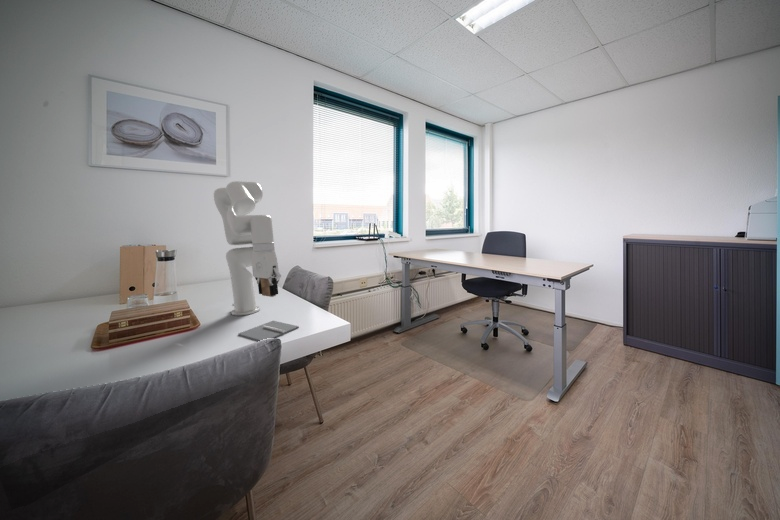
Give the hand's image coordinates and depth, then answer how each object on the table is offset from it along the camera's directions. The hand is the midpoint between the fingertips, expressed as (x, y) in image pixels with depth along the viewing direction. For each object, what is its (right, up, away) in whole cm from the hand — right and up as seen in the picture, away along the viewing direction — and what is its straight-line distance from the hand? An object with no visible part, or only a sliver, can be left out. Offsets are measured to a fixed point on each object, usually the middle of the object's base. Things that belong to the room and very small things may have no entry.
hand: (268, 293), depth 114 cm
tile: (0, -1, 0) cm, 1 cm away
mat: (-1, -15, +3) cm, 16 cm away
